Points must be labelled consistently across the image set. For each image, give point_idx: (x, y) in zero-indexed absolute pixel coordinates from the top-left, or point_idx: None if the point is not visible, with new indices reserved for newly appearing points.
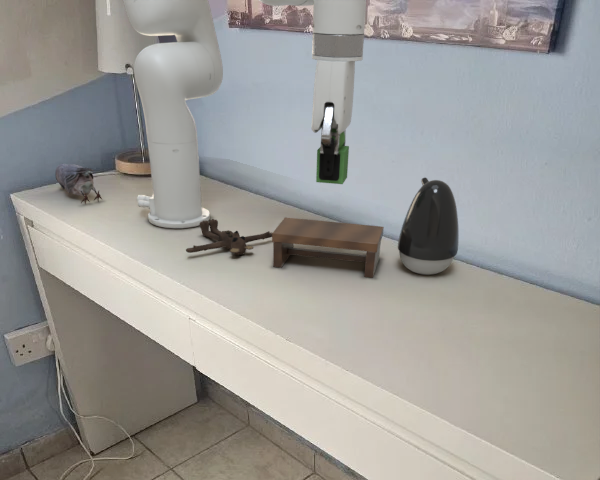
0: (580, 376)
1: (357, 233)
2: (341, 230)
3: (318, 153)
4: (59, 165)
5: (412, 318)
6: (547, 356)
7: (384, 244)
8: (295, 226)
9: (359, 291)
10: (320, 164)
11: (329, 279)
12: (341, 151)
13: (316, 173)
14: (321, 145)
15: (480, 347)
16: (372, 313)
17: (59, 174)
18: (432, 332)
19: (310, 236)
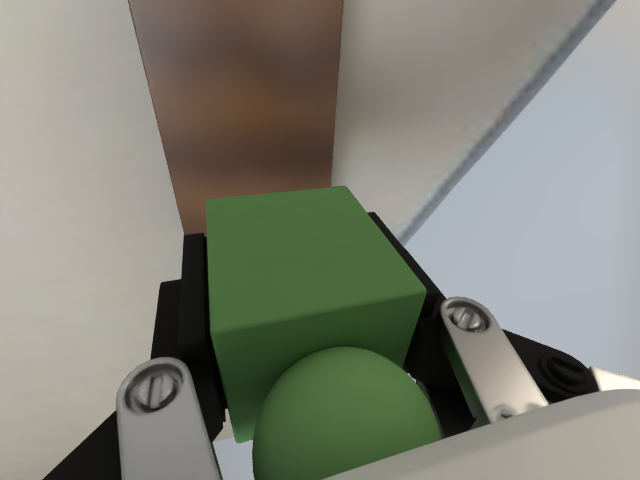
0: (18, 474)
1: None
2: (262, 189)
3: (211, 318)
4: None
5: (42, 329)
6: (48, 450)
7: (387, 211)
8: (246, 23)
9: (106, 228)
10: (182, 290)
11: (137, 151)
12: (236, 435)
13: (208, 223)
14: (122, 441)
15: (9, 409)
16: (6, 275)
17: None
18: (8, 361)
19: (160, 111)
